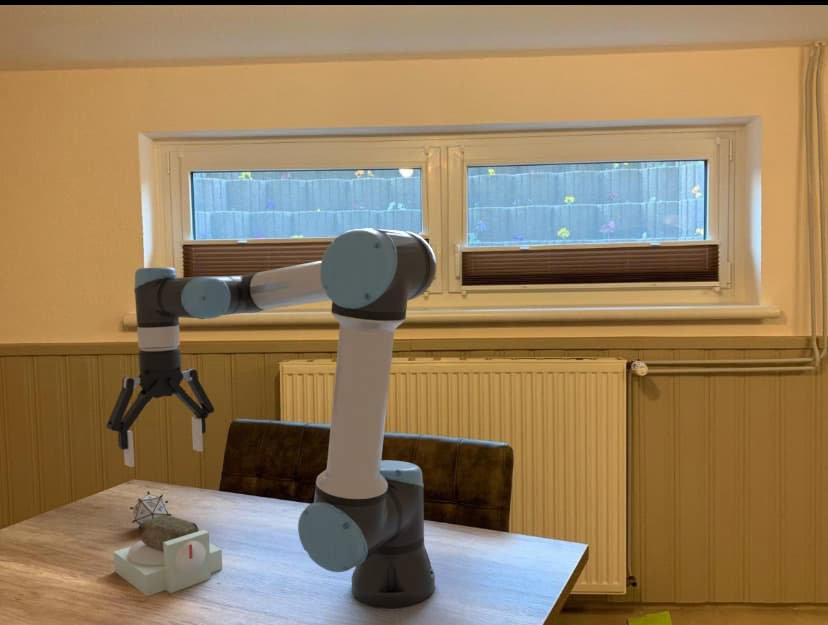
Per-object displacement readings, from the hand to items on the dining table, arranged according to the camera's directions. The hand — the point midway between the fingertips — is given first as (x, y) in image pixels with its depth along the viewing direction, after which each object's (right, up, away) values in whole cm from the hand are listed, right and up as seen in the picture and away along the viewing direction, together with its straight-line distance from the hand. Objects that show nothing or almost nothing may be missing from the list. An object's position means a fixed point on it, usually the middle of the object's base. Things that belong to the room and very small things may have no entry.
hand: (165, 457), depth 131 cm
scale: (+1, -23, +1) cm, 23 cm away
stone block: (+1, -18, +1) cm, 18 cm away
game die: (-12, -22, +24) cm, 35 cm away
